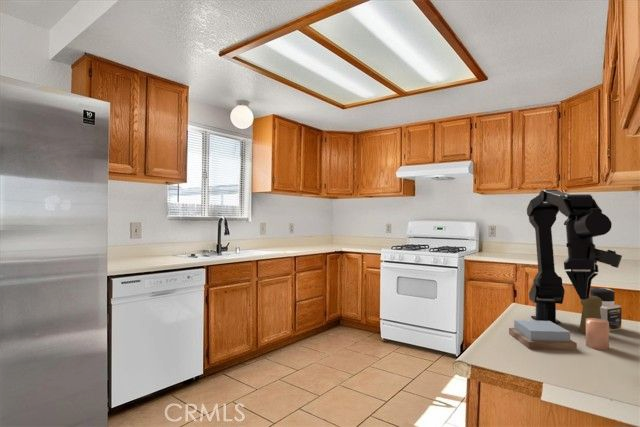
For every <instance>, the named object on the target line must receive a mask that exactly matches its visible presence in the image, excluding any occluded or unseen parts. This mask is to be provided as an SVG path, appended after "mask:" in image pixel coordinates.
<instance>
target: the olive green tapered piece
mask: <svg viewBox="0 0 640 427" xmlns="http://www.w3.org/2000/svg"><path fill="white" fill-rule="evenodd" d="M580 304H581V305H582V310H581V316H580V317H581V318H580V321H579V322H580V323H579V329H578V332H580V333H581V334H583V335H586V318H597V319H601V312H600V307H601V306H602V300H601V298H599V297H597V296H592V295H590V294H589V299H585V300H582V299H580Z"/></svg>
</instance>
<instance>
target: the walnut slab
mask: <svg viewBox="0 0 640 427" xmlns="http://www.w3.org/2000/svg"><path fill="white" fill-rule="evenodd" d="M508 335H510V336H511V337H512V338H514V339H515V340H516V341H517V342H519V343H520V344H521V345H522V346H524V347H525V348H527V350H549V351H550V350H551V351H552V350H554V351H555V350H557V351H577V350H578V347H577V346H578V343H577V342H576V341H574V340H573V339H570V341H539V340H530V339H528V338H527V337H525V336H524V335H523V334H521V333H520V332H518V331H517V330H515V329H514V327H508Z"/></svg>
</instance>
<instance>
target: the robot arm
mask: <svg viewBox="0 0 640 427" xmlns="http://www.w3.org/2000/svg"><path fill="white" fill-rule="evenodd" d="M593 197H594V196H592V194H590V193H589V194H587V193H586V194H581V193H579V194H576V193H575V194H574V193H573V194H570V193H566V192H563V191H561V190H558V189H543V190H540V192H539V194H538V195H537V196H535V197H534V198H532V199H531V200H530V201H529V203H528V205H527V208H526V214H527V217H528V222H529V223H530V225H531V226H532V227H533V228H534V230H535V243H536V258H537V259H536V260H537V272H536V275H535V276H534V278H533V280H532V283H533V284H532V286H531V288H530V289H529V290H530V291H529V293H528V298H529V300H530V301H531V302H533V303H534V304H535V315H531V316H530V318H531V319H534V321H551V322H553V323H555V324H561V323H562V321H560V320H559V319H557V315H556V314H557V308H556V307H557V306H556V305H557V304H558V305H559V304H560V305H562V304H563V303H564V298H565V292H566V291H565V286H564V285H563V278H562V277H561V276H559V275H558V274H557V272H556V270H555V258H554V257H555V256H554V244H553V233H552V232H553V231H552V227H553V225H554V223H556V220H557V215H558V214H559V212H560V213H561V214H562V215H563V216H565V217H566V218H567V219H566V220H564V222H563V225H564V226H565V231H566V232H565V233H566V242H567V243H566V248H567V254H568V255H567V256H568V258H567V259H565V260H564V261H563V267H564V270H565V273H566V275H567V278H569V280H570V282H571V284H572V286H573V288H574V289H575V291H576V293H577V295H578V297H579V299H580V300H581V299H582V300H585V299H589V295H590V290H591V287H592V281H593V279H594V278H595V277H597V276H598V275H599V272H600V271H599V264H597V263H602V264H605V265H609V266H611V267H613V268H617V269H618V268H619V266H620V264H621V261H622V258H623V255H621V254H618V253H617V251H615V250H611V249H607V250H603V249H599V248H596V244H595V243H594V238H595V237H599V236H604V235H606V234H608V233H609V232H610V231H611V229H612V221H611V219H610V218H609V217H608V215H606V214H605V213H603V210H602V209H601V208H600V207H599V205H598V203H597V202H596V200H595V198H593Z"/></svg>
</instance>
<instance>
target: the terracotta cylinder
mask: <svg viewBox="0 0 640 427" xmlns="http://www.w3.org/2000/svg"><path fill="white" fill-rule="evenodd" d="M585 346H586V347H588V348H589V349H594V350H598V351H608V350H610V331H609V322H608V321H606V320H603V319H597V318H586V334H585Z"/></svg>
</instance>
